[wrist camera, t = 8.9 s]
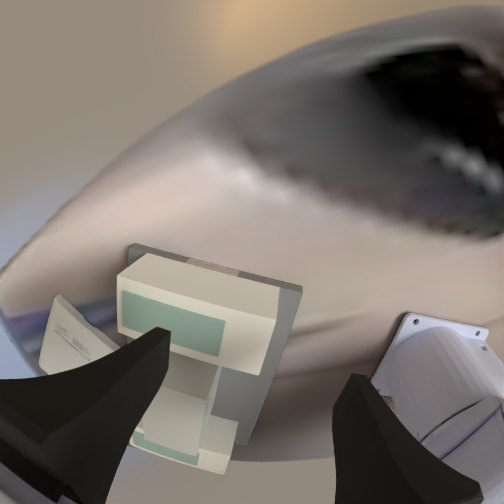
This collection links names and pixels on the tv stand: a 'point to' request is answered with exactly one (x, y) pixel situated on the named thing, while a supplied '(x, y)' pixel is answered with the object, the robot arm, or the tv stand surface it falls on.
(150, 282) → the rail panel
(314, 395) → the tv stand surface
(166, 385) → the block
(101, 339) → the external hard drive
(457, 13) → the tv stand surface
